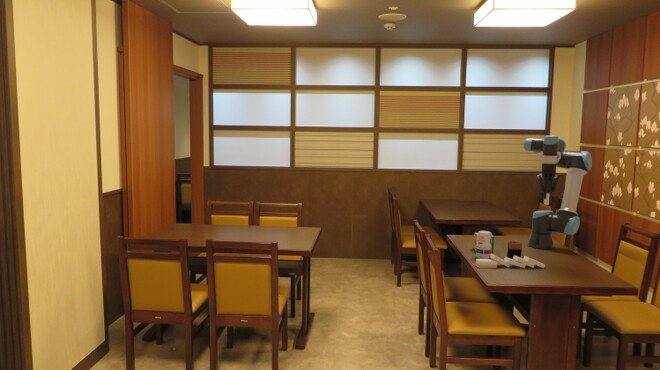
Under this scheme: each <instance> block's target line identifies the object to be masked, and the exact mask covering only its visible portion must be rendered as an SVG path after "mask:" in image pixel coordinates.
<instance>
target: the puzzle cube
mask: <svg viewBox="0 0 660 370" xmlns="http://www.w3.org/2000/svg"><path fill="white" fill-rule="evenodd" d="M477 233H478V232H474V234H473V243H472V244H473V249H474V251H475V252H476V246H477ZM494 245H495V236H494V235H492V245H491V253H492V254H493V253H494V249H495V248H494Z"/></svg>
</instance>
